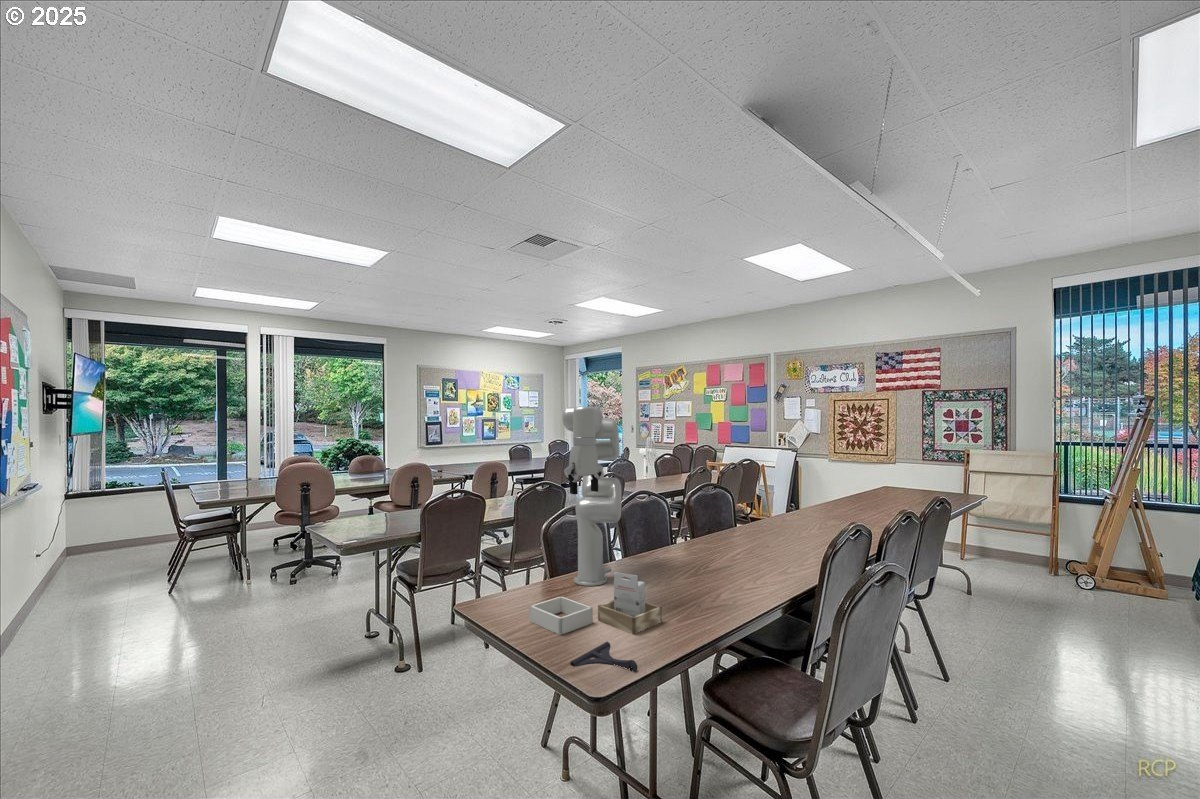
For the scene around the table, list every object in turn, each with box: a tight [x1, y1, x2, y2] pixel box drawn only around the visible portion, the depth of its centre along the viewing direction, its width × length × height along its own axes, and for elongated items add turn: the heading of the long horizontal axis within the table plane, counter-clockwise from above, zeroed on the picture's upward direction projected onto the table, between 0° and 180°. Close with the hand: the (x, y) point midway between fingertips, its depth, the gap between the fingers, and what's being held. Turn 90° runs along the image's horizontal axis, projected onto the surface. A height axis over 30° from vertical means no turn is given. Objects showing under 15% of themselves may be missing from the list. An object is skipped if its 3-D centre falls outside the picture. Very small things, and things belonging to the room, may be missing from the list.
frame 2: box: [597, 599, 663, 635], centre depth 153 cm, size 13×15×4 cm
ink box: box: [613, 571, 646, 617], centre depth 154 cm, size 9×5×15 cm, turn 59°
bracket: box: [569, 641, 638, 672], centre depth 127 cm, size 14×15×3 cm
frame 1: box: [528, 595, 594, 636], centre depth 153 cm, size 13×15×4 cm
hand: (584, 492), depth 174 cm, fingers open, 9 cm apart
